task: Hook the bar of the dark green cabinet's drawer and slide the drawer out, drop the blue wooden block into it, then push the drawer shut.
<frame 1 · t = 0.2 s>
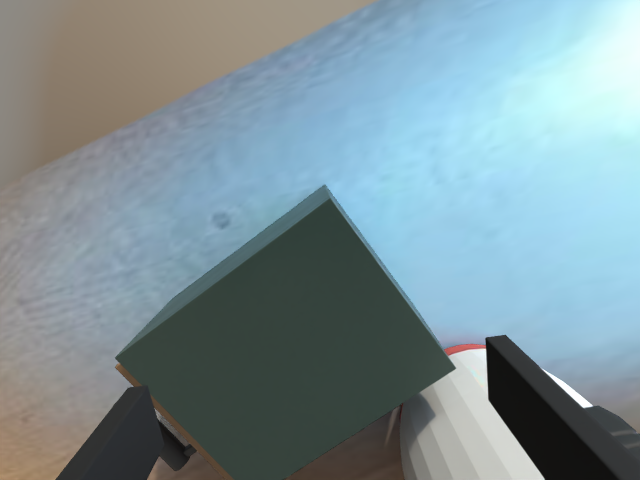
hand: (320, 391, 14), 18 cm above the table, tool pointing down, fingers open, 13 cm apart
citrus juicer: (468, 401, 35), on the table
cabinet: (295, 303, 33), on the table
drawer: (249, 358, 28), point 5 cm above the table, slide at 0.0 cm, touching cabinet
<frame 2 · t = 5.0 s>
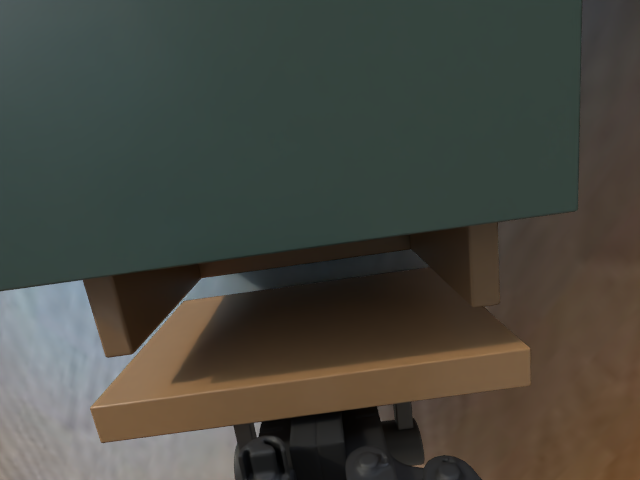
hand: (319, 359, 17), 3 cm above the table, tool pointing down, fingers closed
cabinet: (270, 11, 16), on the table
drawer: (292, 210, 13), point 5 cm above the table, slide at 3.9 cm, touching gripper
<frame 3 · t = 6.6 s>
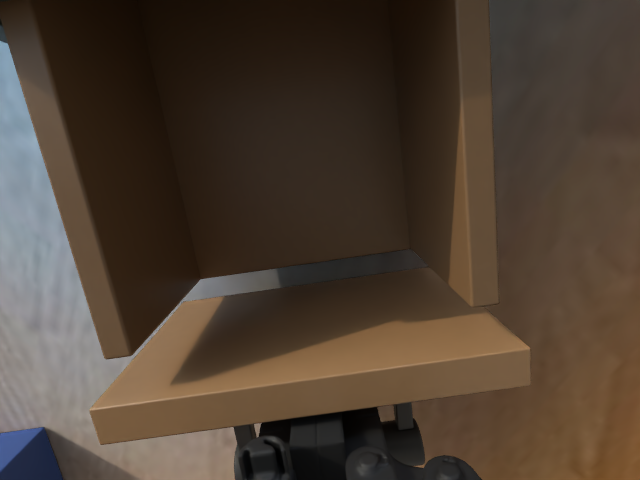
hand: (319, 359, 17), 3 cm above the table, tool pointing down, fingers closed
drawer: (291, 211, 13), point 5 cm above the table, slide at 10.1 cm, touching gripper
block: (17, 466, 21), on the table
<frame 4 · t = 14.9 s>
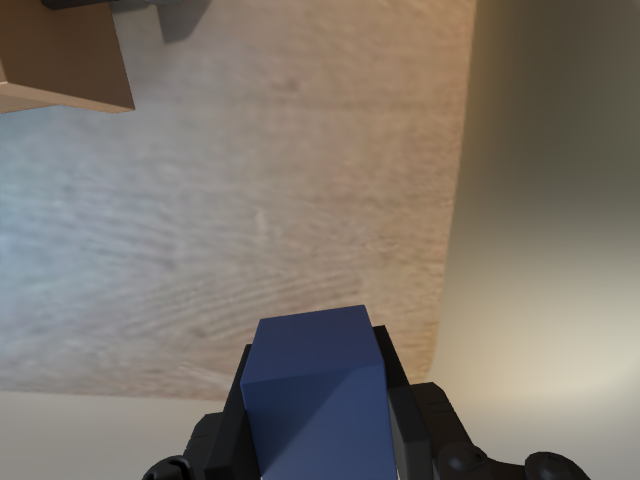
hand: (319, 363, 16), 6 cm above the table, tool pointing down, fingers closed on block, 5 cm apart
block: (319, 358, 17), point 5 cm above the table, touching gripper
when the fingers open (7 cm above the table, at t = 19.4 s): block drops 4 cm, resting on drawer.
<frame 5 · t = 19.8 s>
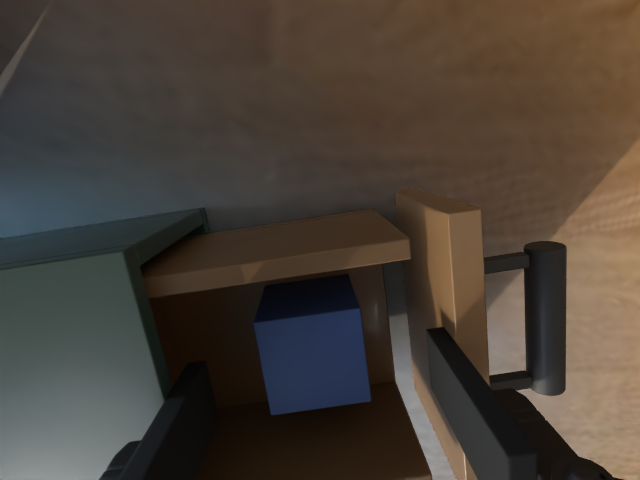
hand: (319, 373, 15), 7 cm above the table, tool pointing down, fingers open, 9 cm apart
cabinet: (94, 337, 23), on the table
drawer: (341, 339, 18), point 5 cm above the table, slide at 10.7 cm, touching block, gripper
block: (312, 318, 21), point 2 cm above the table, touching drawer
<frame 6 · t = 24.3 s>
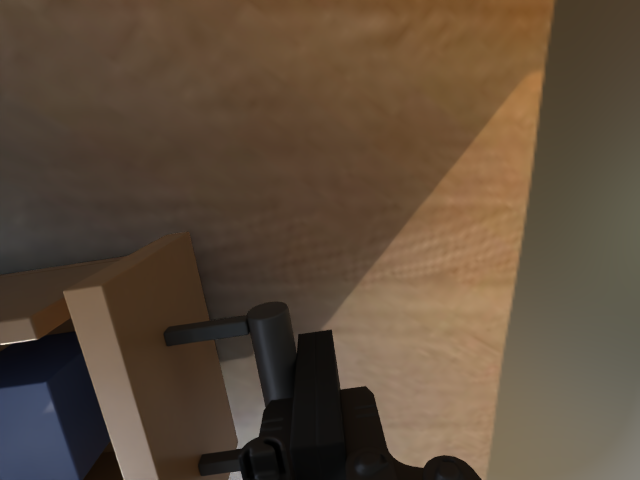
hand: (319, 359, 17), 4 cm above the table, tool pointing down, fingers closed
drawer: (70, 406, 16), point 5 cm above the table, slide at 11.6 cm, touching block
block: (79, 373, 19), point 2 cm above the table, touching drawer
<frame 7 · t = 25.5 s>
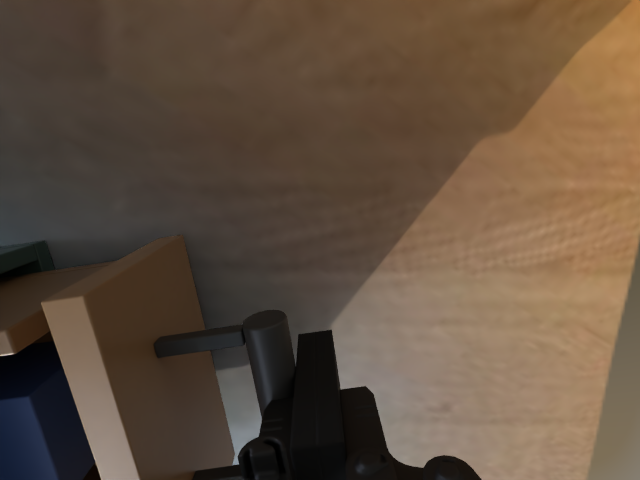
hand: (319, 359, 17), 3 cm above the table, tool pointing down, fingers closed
drawer: (56, 420, 15), point 5 cm above the table, slide at 5.9 cm, touching block, gripper
block: (67, 383, 18), point 2 cm above the table, touching drawer
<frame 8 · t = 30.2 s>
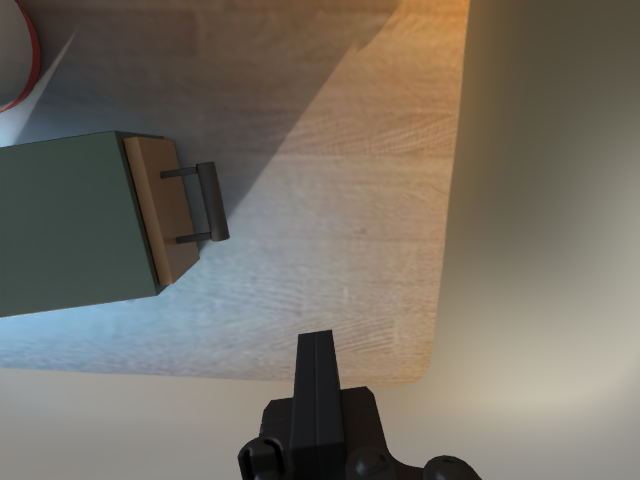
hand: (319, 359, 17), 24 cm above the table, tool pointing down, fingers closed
cabinet: (101, 213, 39), on the table
drawer: (117, 215, 34), point 5 cm above the table, slide at 0.0 cm, touching block
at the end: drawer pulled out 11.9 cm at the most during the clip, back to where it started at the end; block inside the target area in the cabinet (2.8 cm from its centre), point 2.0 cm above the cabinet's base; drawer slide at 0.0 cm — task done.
